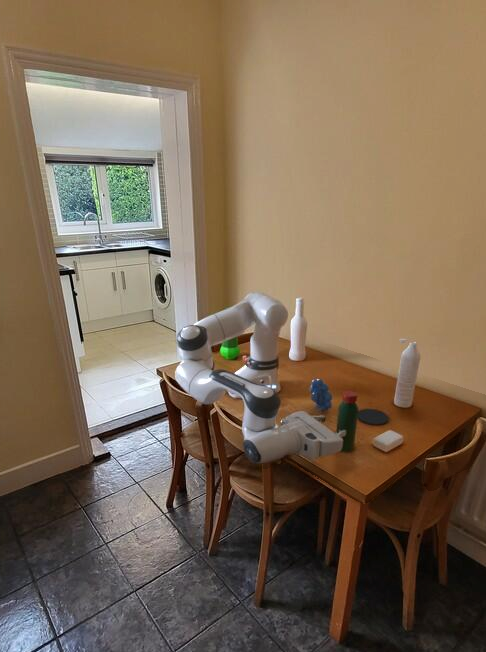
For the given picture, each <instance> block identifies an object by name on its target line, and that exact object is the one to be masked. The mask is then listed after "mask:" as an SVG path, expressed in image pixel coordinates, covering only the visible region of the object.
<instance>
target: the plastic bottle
mask: <svg viewBox="0 0 486 652" xmlns="http://www.w3.org/2000/svg"><path fill="white" fill-rule="evenodd" d="M230 307H231V306H227V307H224V309H223V310H226V309H228V308H230ZM240 352H241V347H240V346H239V336H237V337H235V338H232V339H230V340H227V341H225V342H222V343H221V347H220V349H219V353H220V355H221V356H222V357H224V358H225V359H226V360H235V359H236V358H238V356H239V354H240Z"/></svg>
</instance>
